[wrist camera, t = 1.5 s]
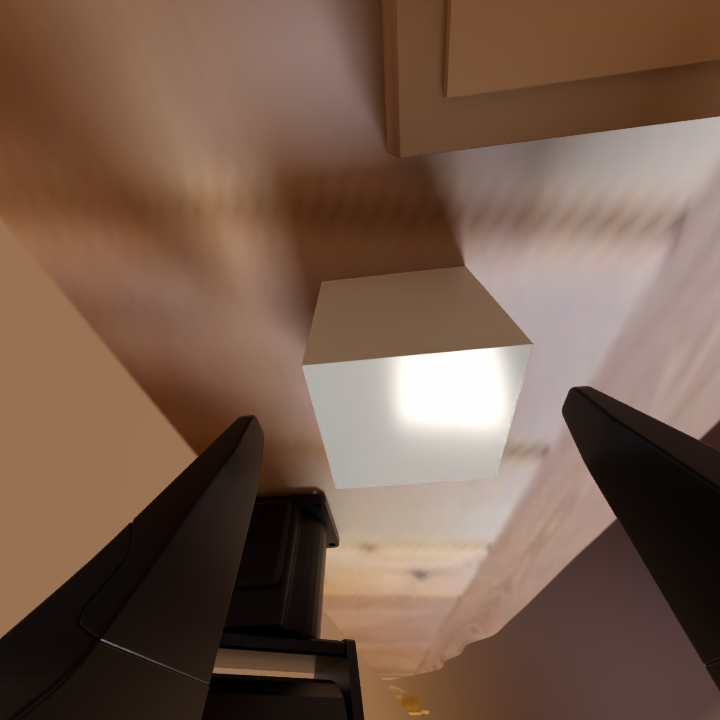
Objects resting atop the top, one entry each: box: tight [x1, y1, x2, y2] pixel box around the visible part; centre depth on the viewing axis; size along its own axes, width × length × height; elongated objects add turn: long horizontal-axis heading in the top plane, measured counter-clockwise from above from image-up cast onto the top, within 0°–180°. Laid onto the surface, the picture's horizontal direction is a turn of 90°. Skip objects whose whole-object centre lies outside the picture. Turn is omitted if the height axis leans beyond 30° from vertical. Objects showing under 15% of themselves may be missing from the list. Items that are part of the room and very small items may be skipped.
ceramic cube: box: [302, 266, 533, 489], centre depth 10 cm, size 5×5×5 cm
